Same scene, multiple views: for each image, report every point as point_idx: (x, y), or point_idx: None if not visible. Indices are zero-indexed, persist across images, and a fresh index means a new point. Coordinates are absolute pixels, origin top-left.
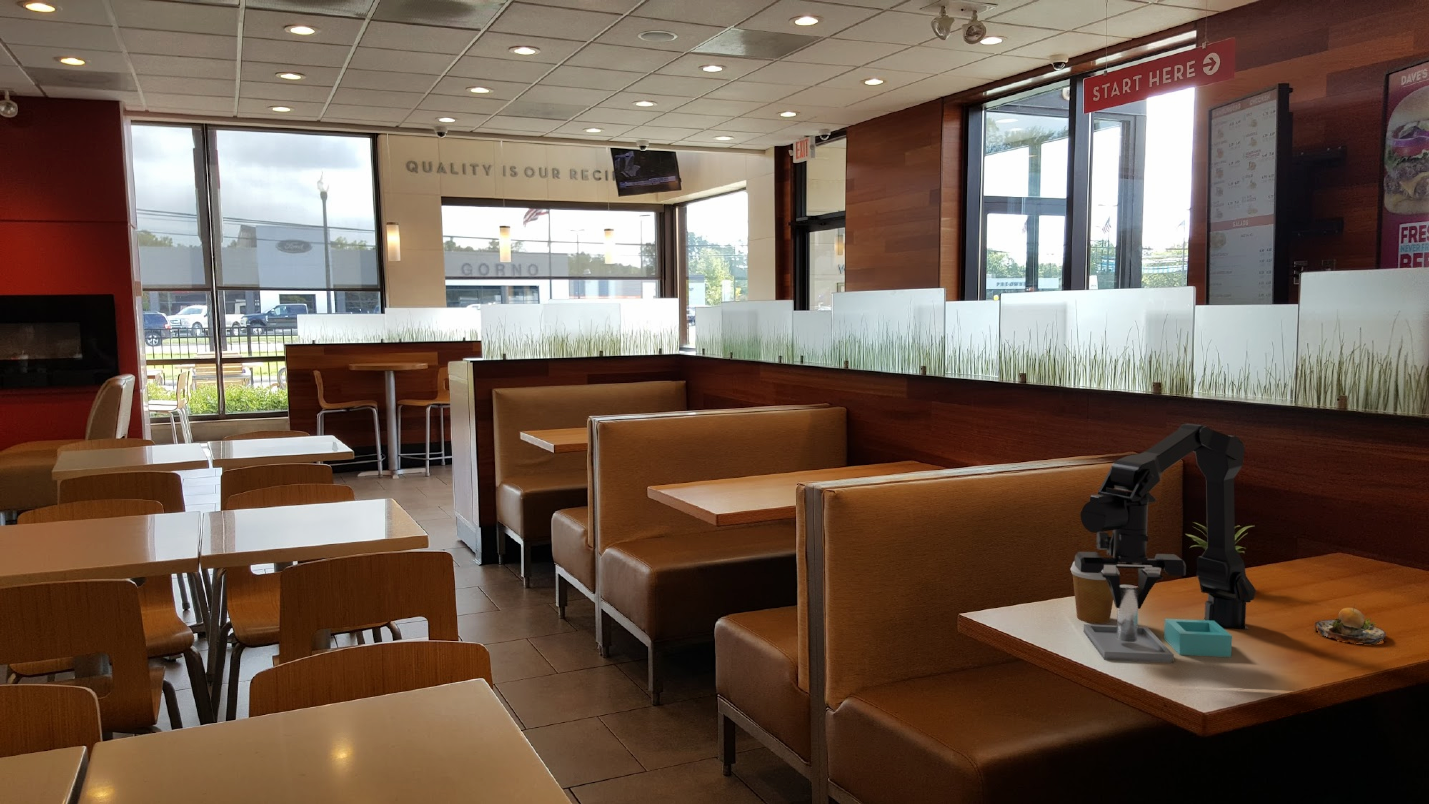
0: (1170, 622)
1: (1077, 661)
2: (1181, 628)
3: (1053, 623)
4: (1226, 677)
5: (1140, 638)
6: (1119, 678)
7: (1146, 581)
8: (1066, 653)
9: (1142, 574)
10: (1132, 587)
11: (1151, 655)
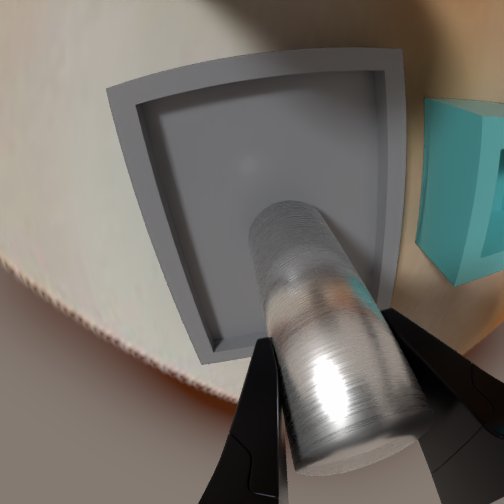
0: (483, 167)
1: (137, 350)
2: (483, 232)
3: (18, 7)
4: (441, 324)
5: (350, 143)
6: (233, 397)
7: (442, 496)
8: (98, 309)
9: (482, 495)
10: (393, 441)
11: None
